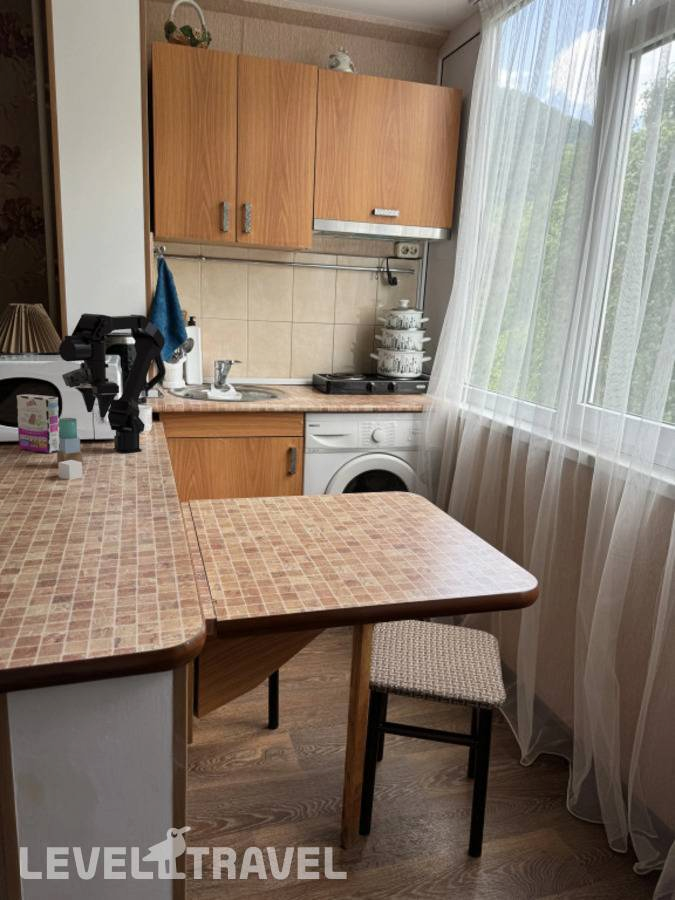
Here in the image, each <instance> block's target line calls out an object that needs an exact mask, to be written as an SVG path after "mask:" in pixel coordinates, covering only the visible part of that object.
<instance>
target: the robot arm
mask: <svg viewBox="0 0 675 900" xmlns="http://www.w3.org/2000/svg"><path fill="white" fill-rule="evenodd" d="M140 329H141V330H140ZM120 330H130V335H131V337H132V339H133V340H134V343H133V344H134V345H133V347H134V350H135V357H134V361H133V363H132V366H131V369H130V372H129V375H128V377H127V379H126V382H125V385H124V388H123V391H122V394H121V396H120V397H119V398H118V399H117V398H116V396H117V395H118V394H120V385H119V384H118V383H117V382H113V381H110V380H109V378H108V377H107V373H106V372H107V369H108V368H109V363H106V362H107V361H106V344H111V343H112V342H111V340H110V339H109V338H108V337H107V335H109V334H112V333H113V331H120ZM165 342H166V339H165V337H164V335H163V334H162V332H161V331H160V329H159V328H158V327H157V326H155V324H153V323H151V322H150V321H149V320H148V318H147V317H146V316H145V315H142V314H130V315H112V316H111V315H106V314H99V313H86V312H85V313H82V314H81V315H80V317H79V320H78V322H77V324H76V325H75V327H74V329H73V331H72V333H71V335H64V340H62V342H60V344H59V346H58V352H59V356H60V358H61V359H62V360H63V361H64V362H70V363H71V362H81V361H83V362H81V363H80V364H79V365H80V366H79V368H78V369H74V370H71V371H68V372H66V373H63V374H61V376H62V379H63V382H64V384H65V386H66V387H69V388H74V389H75V390H77V391H78V392H79V393H80V394H81V396H82V400H83V402H84V405H85V408H86V411H87V413H92V412H93V409H94V406H95V403H96V400H97V404H98V405H97V406H98V412H99V416H100V418H105V417H106V416H107V419H108V423H109V426H110V430H111V431H115V435H114V437H113V438H114V439H113V440H114V441H113V446H114V447H113V450H115V451H116V452H118V453H121V454H127V453H128V454H129V453H137V452H143V449H142V448H140V434H141V433H142V432H144V431H145V427H146V426H145V423H144V421H143V420H142V419H141V418H140V411H141V410H140V406H139V398H140V396H141V394H142V390H143V387H144V385H145V382H146V378H147V376H148V373H149V371H150V368H151V365H152V362H153V361H154V359H156V358H157V357H158V356H159V355H160V354H161V352H162V351H163V349H164V346H165V344H166V343H165ZM106 368H107V369H106ZM115 398H116V399H115ZM107 413H108V414H107Z"/></svg>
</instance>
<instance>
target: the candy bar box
mask: <svg viewBox="0 0 675 900" xmlns="http://www.w3.org/2000/svg"><path fill="white" fill-rule="evenodd" d="M59 406H60V405H59V397H58V396H51V395H40V394H31V393H25V394H19V395H17V394H16V408H17V412H16V413H17V428H18V429H17V431H18V449H19V450H21V451H27V452H28V451H29V452H36V453H43V454H44V453H45V454H53V453H57V451H58V450H60V441H59V437H60V432H59V419H60V416H59V415H60V412H59Z"/></svg>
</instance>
